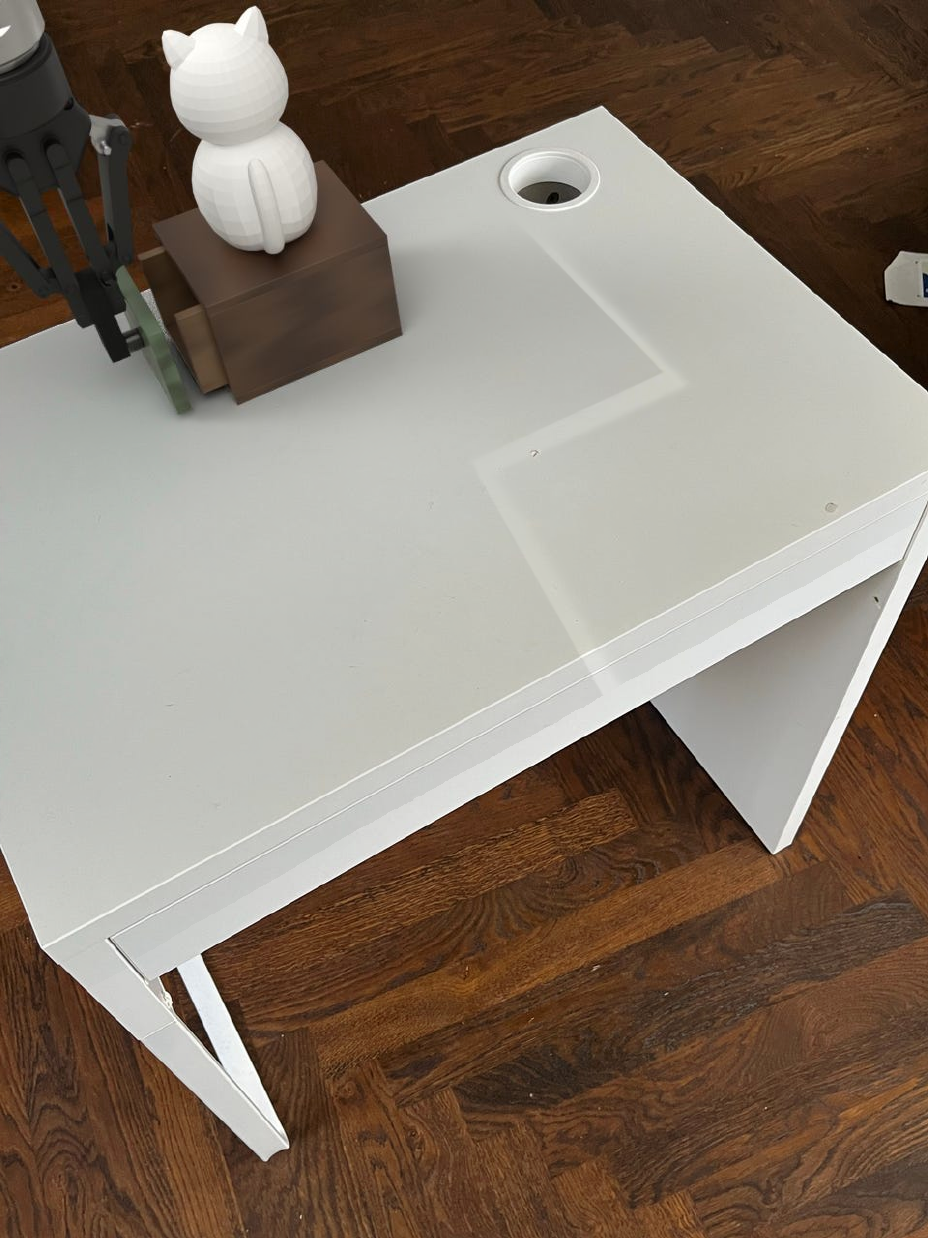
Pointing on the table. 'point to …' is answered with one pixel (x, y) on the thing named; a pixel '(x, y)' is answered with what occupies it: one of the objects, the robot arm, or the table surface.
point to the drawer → (170, 328)
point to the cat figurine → (241, 134)
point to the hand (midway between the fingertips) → (116, 348)
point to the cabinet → (290, 291)
